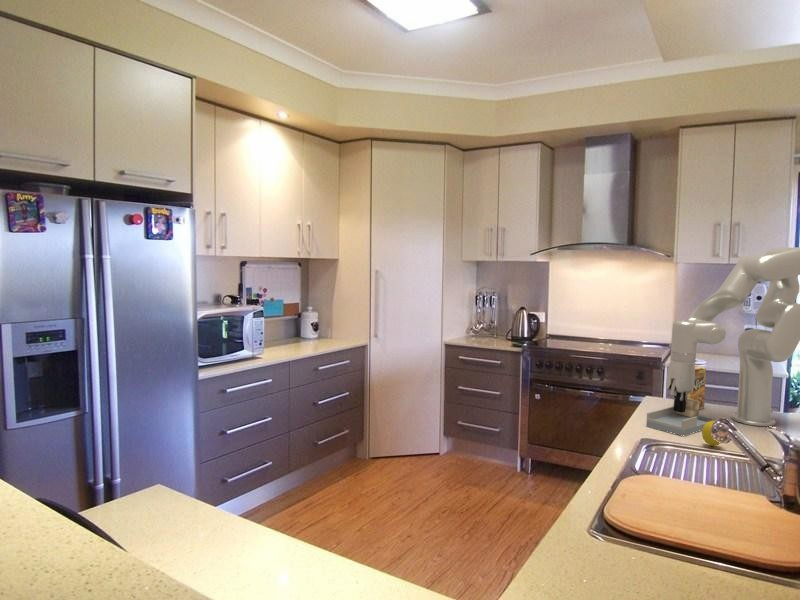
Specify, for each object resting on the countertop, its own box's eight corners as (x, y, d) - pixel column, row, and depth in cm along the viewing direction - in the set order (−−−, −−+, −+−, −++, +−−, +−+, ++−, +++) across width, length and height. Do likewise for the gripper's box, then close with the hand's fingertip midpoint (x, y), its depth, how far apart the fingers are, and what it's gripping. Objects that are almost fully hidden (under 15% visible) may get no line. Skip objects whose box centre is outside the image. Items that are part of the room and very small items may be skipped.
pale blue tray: (682, 416, 193) (683, 402, 193) (718, 425, 183) (719, 410, 183) (646, 426, 181) (647, 411, 181) (682, 436, 171) (683, 420, 170)
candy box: (689, 411, 200) (691, 369, 198) (678, 408, 203) (680, 367, 202) (704, 408, 204) (706, 367, 203) (693, 405, 207) (695, 365, 206)
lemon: (727, 450, 159) (728, 423, 158) (707, 450, 159) (709, 422, 158) (716, 444, 164) (717, 417, 164) (697, 443, 164) (699, 417, 164)
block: (684, 411, 192) (685, 397, 191) (698, 415, 187) (699, 400, 187) (676, 413, 189) (676, 399, 189) (690, 417, 185) (691, 402, 184)
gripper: (684, 354, 192) (680, 406, 193) (659, 357, 183) (656, 411, 185) (705, 357, 185) (702, 411, 187) (681, 361, 177) (677, 417, 178)
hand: (679, 411), depth 186 cm, fingers closed
